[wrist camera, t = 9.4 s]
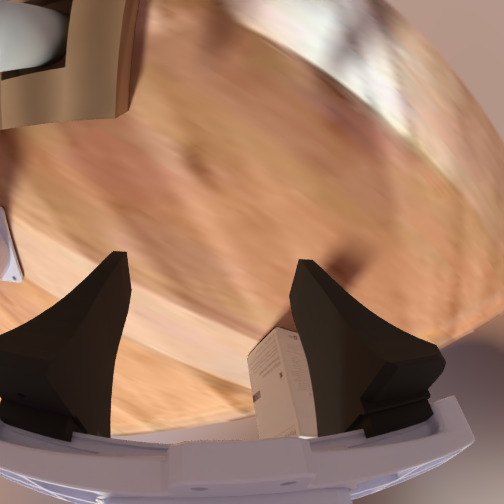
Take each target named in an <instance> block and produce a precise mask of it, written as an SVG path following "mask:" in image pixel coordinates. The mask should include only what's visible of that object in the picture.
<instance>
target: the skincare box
mask: <svg viewBox="0 0 504 504" xmlns="http://www.w3.org/2000/svg"><path fill="white" fill-rule="evenodd" d="M247 362H248V369H249V375H250V382H251V388H252V395H253V402H254V407H255V414H256V420H257V426H258V432H259V438H260V439H265V438H277V437H299V438H302V439H309V438H316V437H318V434H317V422H316V413H315V404H314V397H313V390H312V384H311V378H310V373H309V368H308V363H307V359H306V356H305V353H304V350H303V346H302V343H301V340H300V337H299V334H298V333H296V332H293V331H290V330H287V329H283V328H280V327H276V328H275V329H273V330H272V331H271V332H270V333H269V334H268V335H267V336H266V337H265V338H264V339H263V340H262V341H261V342H260V343H259V345H258V346H257V347H256V348H255V349H254V350H253V351H252V352H251V353H250V355H249V356H248V358H247Z"/></svg>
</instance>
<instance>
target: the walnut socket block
mask: <svg viewBox="0 0 504 504" xmlns="http://www.w3.org/2000/svg"><path fill="white" fill-rule="evenodd" d="M8 1H14V2H19V3H25V4H30V5H35V6H39V7H44V8H48V9H52V10H56V11H60V12H64V13H67V14H68V15H70V22H69V30H68V39H67V49H66V55H65V56H64V57H63V58H62V59H61V60H60V61H58V62H57V63H55V64H52V65H49V66H40V67H31V68H23V69H15V70H9V71H3V72H0V130H3V129H9V128H16V127H22V126H29V125H37V124H45V123H54V122H64V121H76V120H91V119H112V118H117V117H118V116H120V115H122V114H124V113H125V112H127V111H128V106H129V87H130V72H131V60H132V50H133V41H134V32H135V25H136V17H137V11H138V4H139V0H8Z"/></svg>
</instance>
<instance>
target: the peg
mask: <svg viewBox="0 0 504 504" xmlns="http://www.w3.org/2000/svg"><path fill="white" fill-rule="evenodd" d="M69 22H70V15H68V14H67V13H64V12H60V11H56V10H52V9H48V8H44V7H39V6H35V5H30V4H25V3H19V2H14V1H8V0H0V72H3V71H9V70H15V69H23V68H31V67H40V66H49V65H52V64H55V63H57V62H58V61H60V60H61V59H62V58H63V57H64V56H65V55H66V49H67V39H68V30H69Z"/></svg>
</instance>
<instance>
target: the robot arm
mask: <svg viewBox="0 0 504 504" xmlns="http://www.w3.org/2000/svg"><path fill="white" fill-rule="evenodd" d="M23 279H24V278H23V274H22V271H21V268H20V265H19V262H18V259H17V256H16V253H15V249H14V246H13V242H12V239H11V235H10V231H9V228H8V224H7V220H6V215H5V211H4V209H3V208H2V207H1V206H0V281H1V280H3V281H12V282H22V281H23ZM131 291H132V289H131V282H130V275H129V267H128V259H127V252H120V251H113V252H112V253H111V254H110V255H108V256H107V257H106V258H105V259H104V260H103V261H102V262H101V263H100V264H99V265H98V266H97V267H96V268H95V269H94V270H93V271H92V272H91V273H90V274H89V275H88V276H87V277H86V278H85V279H84V280H83V281H82V282H81V283H80V284H79V285H78V286H77V287H75V288H74V289H73V290H72V291H71V292H70V293H69V294H68V295H66V296H65V297H64V298H63V299H61V300H60V301H59V302H57V303H56V304H55V305H53V306H52V307H50V308H49V309H47V310H46V311H44V312H43V313H41V314H40V315H38V316H37V317H35V318H33V319H32V320H30V321H28V322H26V323H25V324H23V325H21V326H19V327H17V328H15V329H13V330H11V331H8V332H6V333H4V334H1V335H0V397H1V398H2V399H1V402H0V476H2V477H4V478H6V479H8V480H11V481H13V482H16V483H18V484H21V485H23V486H26V487H28V488H31V489H33V490H36V491H39V492H41V493H44V494H47V495H50V496H53V497H56V498H59V499H62V500H65V501H69V502H72V503H76V504H353V503H352V500H353V499H356V498H360V497H362V496H366V495H369V494H372V493H374V492H377V491H380V490H383V489H385V488H388V487H391V486H393V485H396V484H398V483H401V482H403V481H406V480H408V479H410V478H413V477H415V476H417V475H420V474H422V473H424V472H426V471H429V470H431V469H433V468H435V467H437V466H439V465H441V464H443V463H445V462H446V461H448V460H449V459H451V458H452V457H454V456H455V455H457V454H458V453H459V452H461V451H462V450H464V449H465V448H466V447H468V446H469V445H471V444H472V443H474V442H475V438H474V436H473V433H472V431H471V429H470V427H469V425H468V423H467V420H466V418H465V416H464V414H463V412H462V410H461V408H460V406H459V404H458V402H457V400H456V398H455V396H450V397H447V398H444V399H441V400H438V401H436V402H434V403H432V404H431V405H430V404H429V402H428V400H427V399H429V398H430V393H429V391H428V388H429V387H430V386H431V385H432V384H433V383H434V382H435V381H436V379H437V378H438V377H439V376H440V375H441V373H442V372H443V370H444V367H445V364H446V361H445V359H444V357H443V356H442V354H441V352H440V350H439V349H438V347H437V345H435V344H432V343H430V342H427V341H425V340H422V339H419V338H417V337H415V336H413V335H411V334H408V333H406V332H404V331H402V330H401V329H399V328H397V327H395V326H393V325H392V324H390V323H388V322H387V321H385V320H383V319H382V318H380V317H379V316H377V315H376V314H374V313H373V312H371V311H370V310H369V309H367V308H366V307H364V306H363V305H362V304H361V303H359V302H358V301H357V300H356V299H355V298H353V297H352V296H351V295H350V294H349V293H348V292H346V291H345V290H344V289H343V288H342V287H341V286H340V285H339V284H338V283H337V282H335V281H334V280H333V279H332V278H331V277H330V276H329V275H328V274H327V273H326V272H325V271H324V270H323V269H322V268H321V267H320V266H319V265H318V264H317V263H315V262H314V261H313V260H305V259H299V261H298V265H297V268H296V272H295V276H294V280H293V283H292V287H291V291H290V294H289V297H290V304H291V309H292V315H293V318H294V322H295V325H296V328H297V331H298V334H299V337H300V340H301V343H302V346H303V350H304V353H305V356H306V359H307V363H308V368H309V373H310V378H311V384H312V390H313V397H314V404H315V413H316V422H317V434H318V437H316V438H309V439H302V438H299V437H277V438H265V439H250V440H218V441H205V440H204V441H202V440H201V441H184V442H181V443H177V444H174V445H173V444H158V443H146V442H136V441H127V440H119V439H112V438H110V416H111V395H112V383H113V374H114V366H115V359H116V354H117V350H118V346H119V343H120V339H121V335H122V332H123V328H124V324H125V321H126V317H127V314H128V310H129V304H130V297H131Z"/></svg>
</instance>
